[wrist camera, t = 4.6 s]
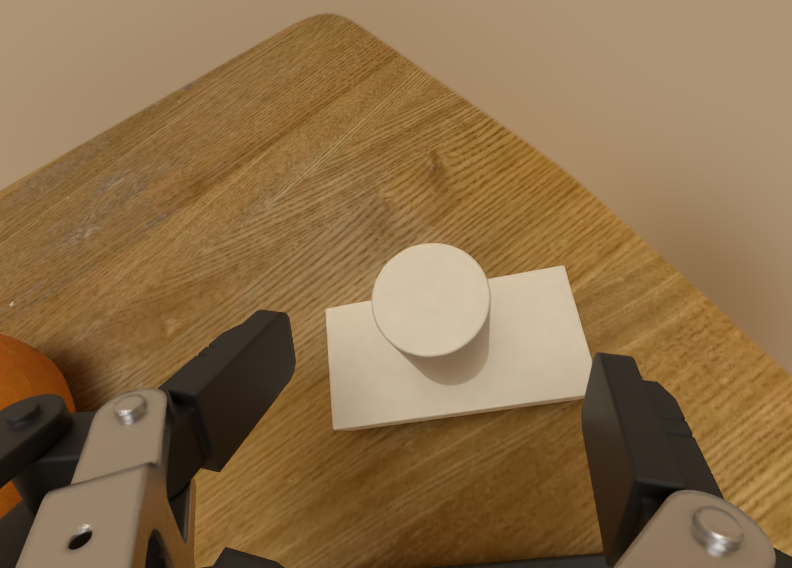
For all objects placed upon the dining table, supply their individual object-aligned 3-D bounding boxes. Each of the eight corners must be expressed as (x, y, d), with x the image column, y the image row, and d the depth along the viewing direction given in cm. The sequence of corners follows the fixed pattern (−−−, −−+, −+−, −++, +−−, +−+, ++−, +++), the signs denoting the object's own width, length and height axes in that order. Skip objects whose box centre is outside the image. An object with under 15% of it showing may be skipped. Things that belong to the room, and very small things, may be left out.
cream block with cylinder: (552, 289, 19) (608, 169, 11) (583, 399, 17) (680, 365, 9) (346, 325, 21) (245, 246, 12) (355, 430, 19) (243, 428, 10)
